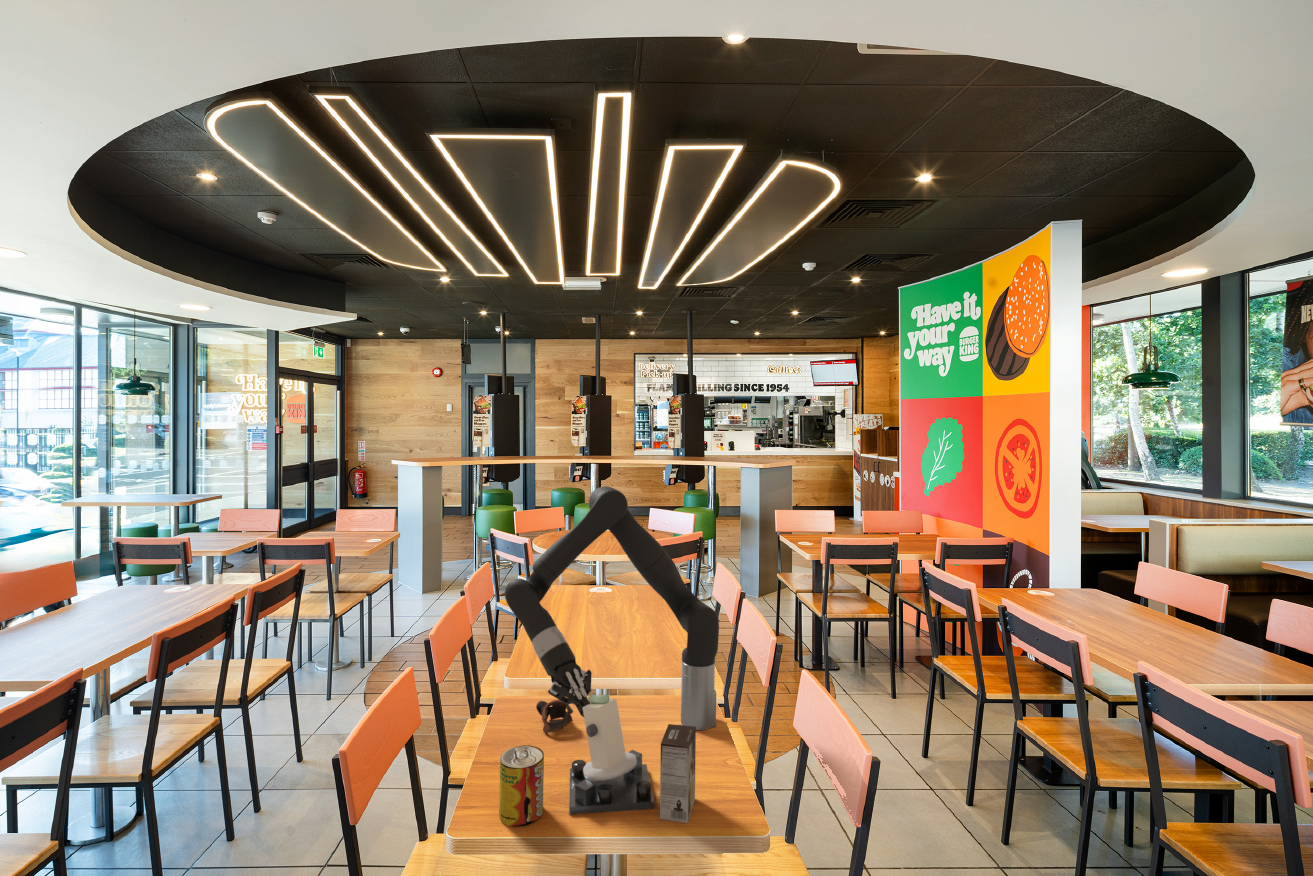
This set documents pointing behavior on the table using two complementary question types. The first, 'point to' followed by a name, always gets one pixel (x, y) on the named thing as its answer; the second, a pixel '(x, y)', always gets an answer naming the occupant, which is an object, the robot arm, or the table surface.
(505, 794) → the beverage can
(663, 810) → the coffee box
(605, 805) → the base
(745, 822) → the table surface
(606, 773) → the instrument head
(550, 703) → the brown hollow shell
